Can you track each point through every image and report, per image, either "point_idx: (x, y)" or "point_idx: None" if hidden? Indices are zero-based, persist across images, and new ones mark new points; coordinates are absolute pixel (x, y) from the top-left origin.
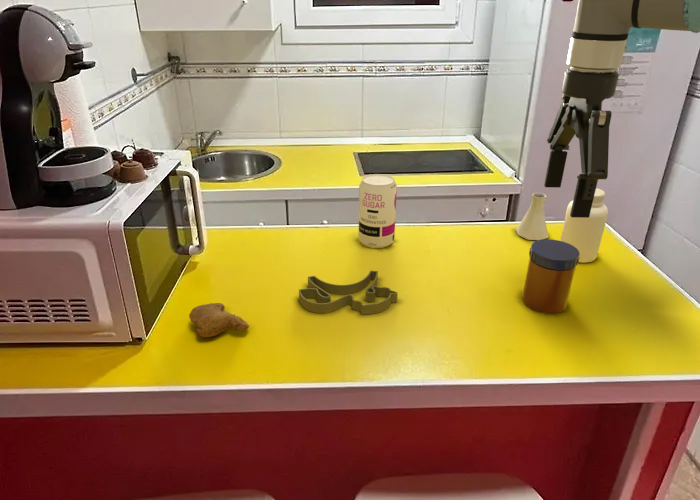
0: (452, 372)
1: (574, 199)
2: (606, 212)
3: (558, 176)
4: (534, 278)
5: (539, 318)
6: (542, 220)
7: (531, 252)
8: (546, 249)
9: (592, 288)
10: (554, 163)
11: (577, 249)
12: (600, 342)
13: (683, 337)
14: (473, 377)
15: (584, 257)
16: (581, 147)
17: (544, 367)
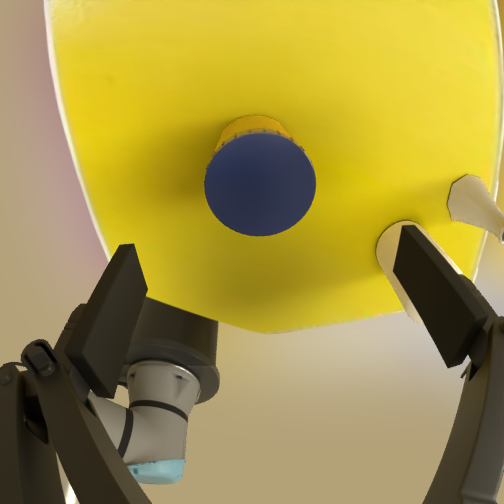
0: (61, 16)
1: (105, 281)
2: (413, 320)
3: (411, 284)
4: (230, 132)
5: (201, 133)
6: (473, 220)
7: (255, 131)
8: (258, 167)
9: (301, 238)
10: (443, 298)
11: (264, 235)
12: (154, 209)
13: (190, 303)
14: (55, 41)
15: (378, 251)
16: (94, 487)
17: (85, 126)
